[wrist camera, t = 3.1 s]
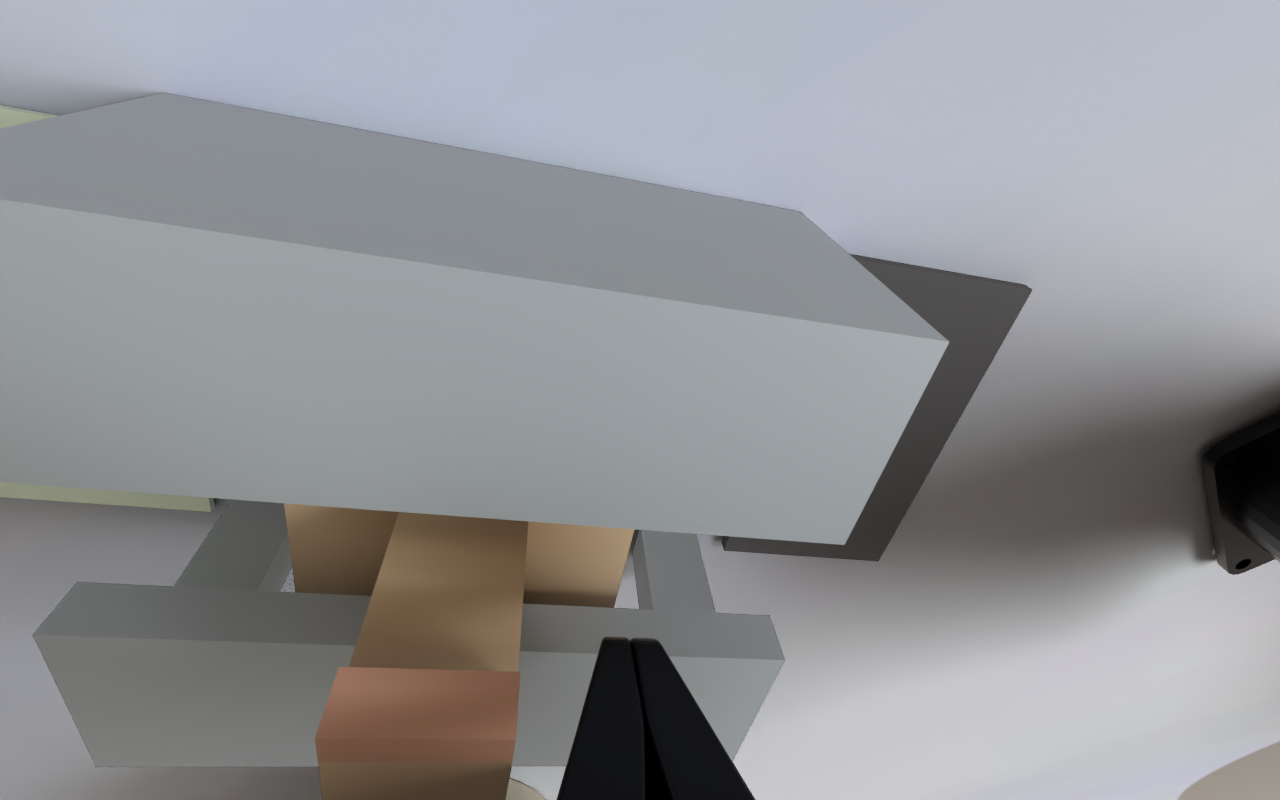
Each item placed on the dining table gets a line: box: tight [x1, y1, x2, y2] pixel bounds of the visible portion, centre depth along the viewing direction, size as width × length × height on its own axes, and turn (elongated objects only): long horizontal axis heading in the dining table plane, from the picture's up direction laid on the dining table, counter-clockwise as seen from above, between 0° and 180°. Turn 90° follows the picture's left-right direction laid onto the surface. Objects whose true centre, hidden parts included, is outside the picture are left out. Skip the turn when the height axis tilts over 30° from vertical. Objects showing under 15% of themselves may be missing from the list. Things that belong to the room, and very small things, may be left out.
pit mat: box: [722, 254, 1032, 561], centre depth 16 cm, size 5×9×1 cm, turn 168°
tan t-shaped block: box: [284, 503, 635, 800], centre depth 11 cm, size 6×6×9 cm
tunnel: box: [0, 93, 949, 767], centre depth 12 cm, size 12×10×6 cm
